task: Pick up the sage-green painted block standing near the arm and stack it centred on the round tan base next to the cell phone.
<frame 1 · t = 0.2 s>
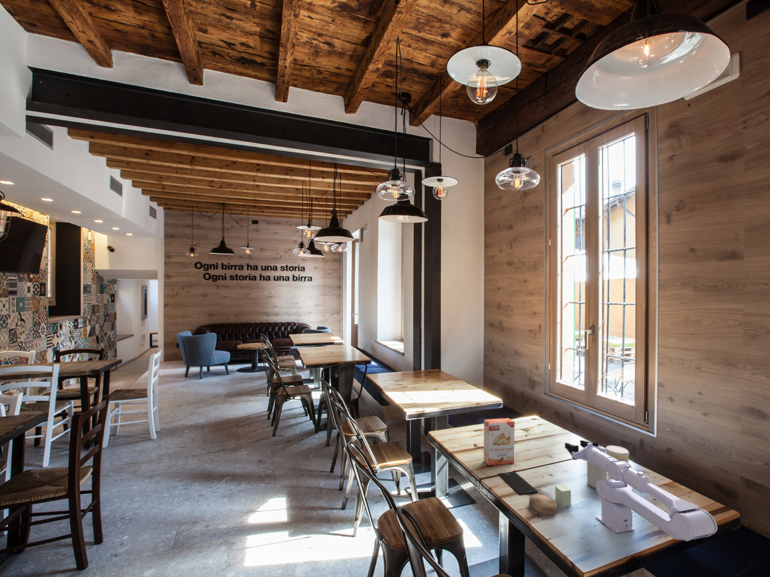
hand: (573, 443, 154), 21 cm above the table, tool horizontal, fingers open, 7 cm apart
coffee cup: (617, 475, 170), on the table
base: (542, 507, 144), on the table
block: (562, 503, 147), on the table
cell phone: (517, 484, 163), on the table
can: (597, 486, 161), on the table
cracker box: (498, 462, 183), on the table
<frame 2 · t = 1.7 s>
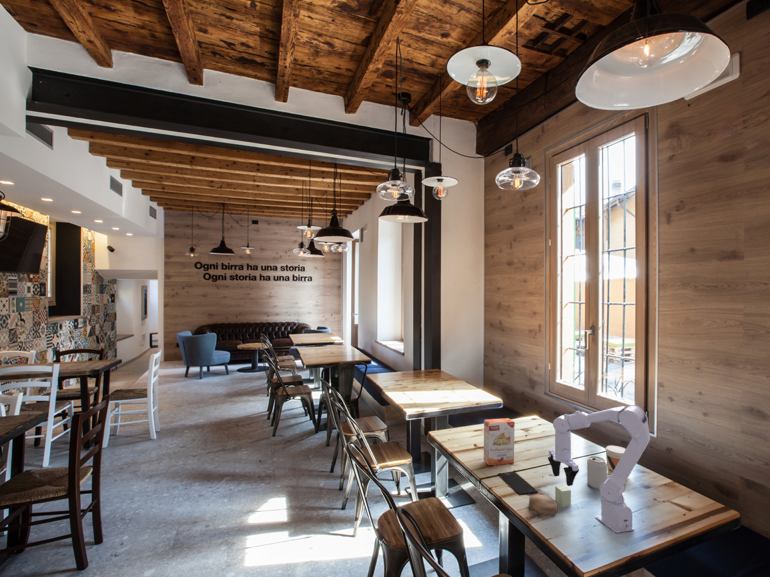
hand: (562, 480, 147), 9 cm above the table, tool pointing down, fingers open, 7 cm apart
nothing on the table moved.
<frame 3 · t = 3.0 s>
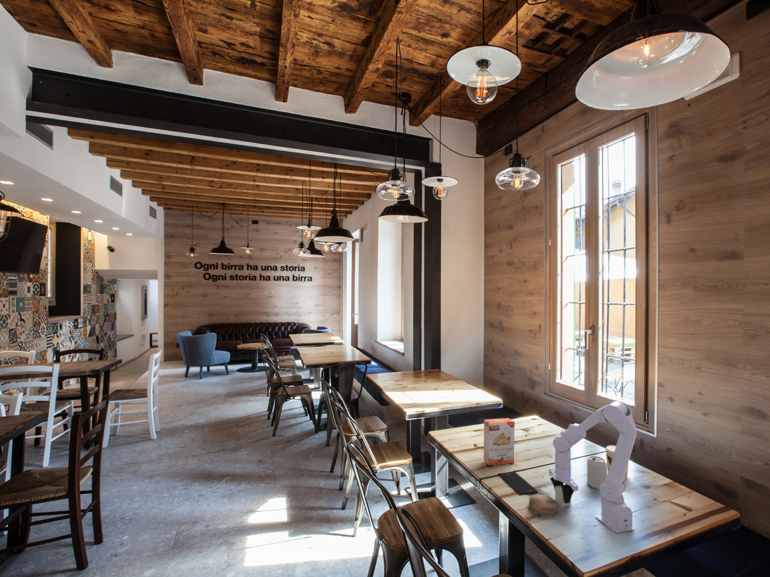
hand: (562, 499, 147), 1 cm above the table, tool pointing down, fingers closed on block, 4 cm apart
block: (562, 503, 147), on the table, touching gripper
everything else where it was.
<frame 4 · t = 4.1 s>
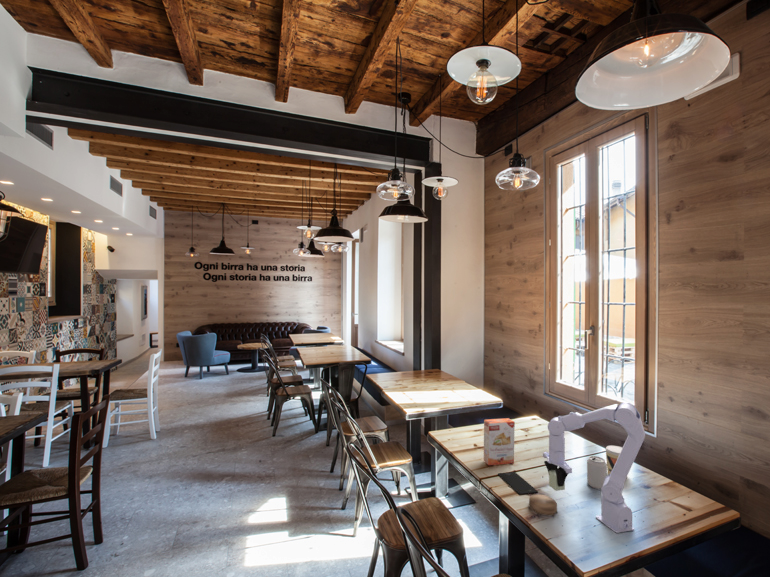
hand: (556, 482, 146), 8 cm above the table, tool pointing down, fingers closed on block, 4 cm apart
block: (556, 487, 146), point 7 cm above the table, touching gripper
everything else where it was.
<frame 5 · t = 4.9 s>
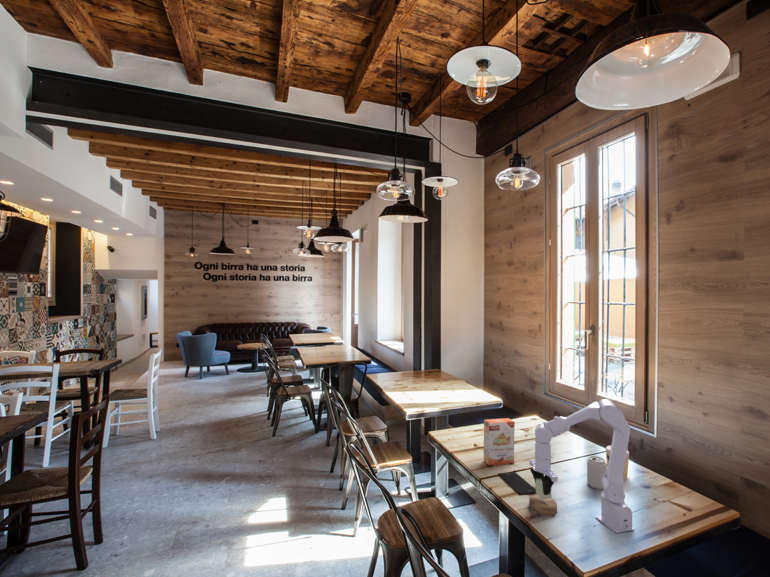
hand: (542, 491, 144), 6 cm above the table, tool pointing down, fingers closed on block, 4 cm apart
block: (543, 496, 144), point 5 cm above the table, touching gripper
everything else where it was.
when the fingers open (5 cm above the table, at t = 5.6 s): block stays where it is, resting on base.
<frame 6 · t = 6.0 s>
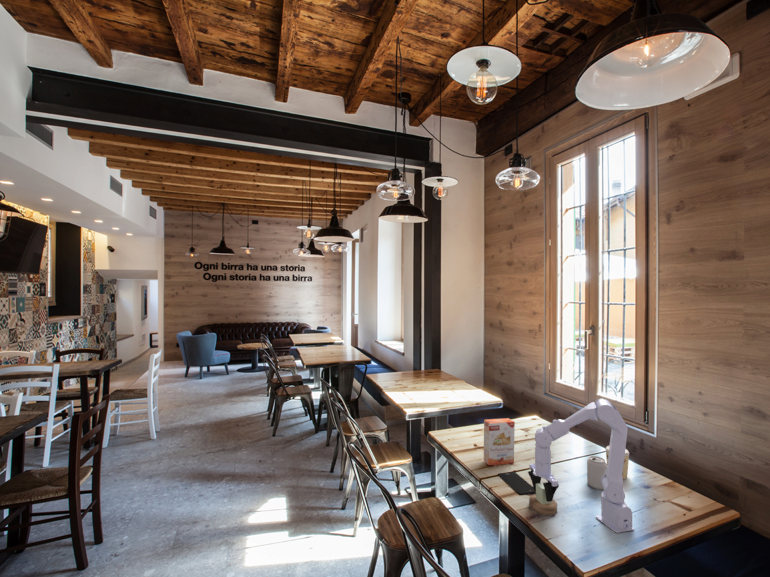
hand: (542, 495, 144), 5 cm above the table, tool pointing down, fingers open, 7 cm apart
block: (543, 501, 144), point 3 cm above the table, touching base
everything else where it was.
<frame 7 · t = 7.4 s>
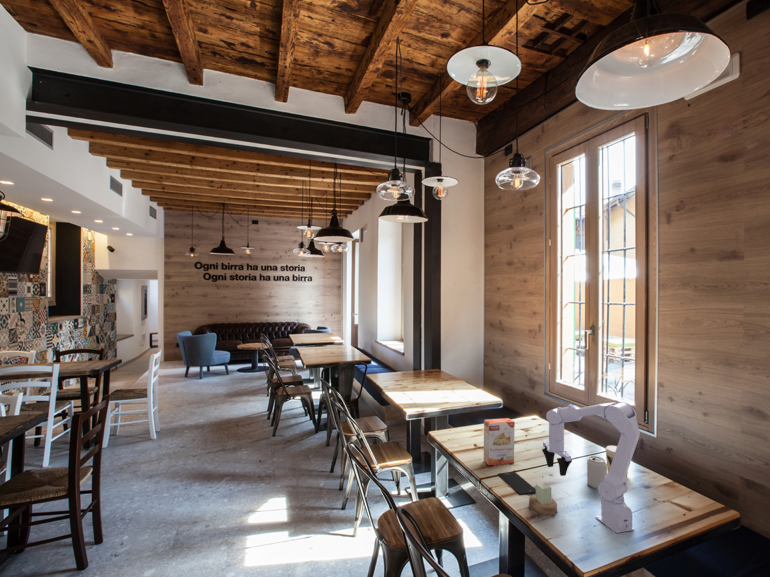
hand: (556, 470, 153), 10 cm above the table, tool pointing down, fingers open, 7 cm apart
nothing on the table moved.
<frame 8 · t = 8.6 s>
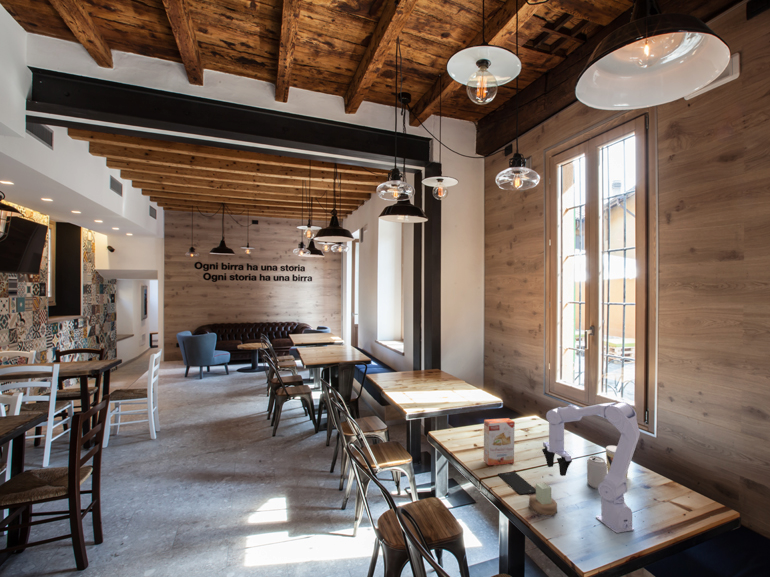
hand: (556, 470, 153), 10 cm above the table, tool pointing down, fingers open, 7 cm apart
nothing on the table moved.
at the end: block 0.3 cm off-centre on the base, point 2.5 cm above the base's base; block tilted 0°; the gripper is holding nothing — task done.
